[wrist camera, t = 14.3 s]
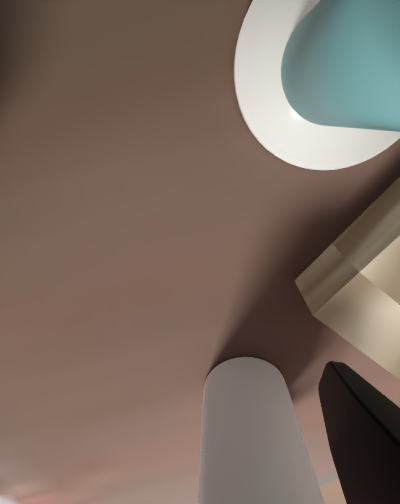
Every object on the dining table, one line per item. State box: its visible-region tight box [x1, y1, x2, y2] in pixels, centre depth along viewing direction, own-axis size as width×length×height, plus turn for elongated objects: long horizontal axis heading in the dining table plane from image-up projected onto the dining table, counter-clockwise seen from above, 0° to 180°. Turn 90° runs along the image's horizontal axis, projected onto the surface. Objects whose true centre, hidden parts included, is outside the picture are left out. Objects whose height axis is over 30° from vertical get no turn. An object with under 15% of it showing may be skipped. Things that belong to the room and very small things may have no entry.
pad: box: [234, 0, 400, 170], centre depth 16 cm, size 10×10×1 cm
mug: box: [198, 357, 324, 504], centre depth 20 cm, size 10×7×12 cm, turn 17°
